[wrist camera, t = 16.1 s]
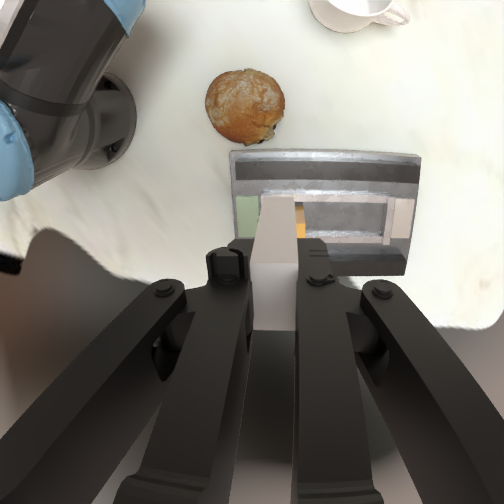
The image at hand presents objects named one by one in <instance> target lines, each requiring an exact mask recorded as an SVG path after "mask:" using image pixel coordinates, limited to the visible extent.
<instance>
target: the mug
mask: <svg viewBox="0 0 504 504" xmlns="http://www.w3.org/2000/svg"><path fill="white" fill-rule="evenodd" d="M309 3H310V8H311V11H312V13H313V15H314V16H315V18H316V19H317V20H318V21H319V22H320V23H321V24H322V25H324V26H325V27H327V28H329V29H331V30H334V31H337V32H342V33H351V32H357V31H359V30H362V29H363V28H365V27H366V26H368V25H369V24H370V23H372V22H375V23H379V24H384V25H392V26H400V25H405V24H407V23H409V21H410V17H409V14H408V13H407V11H406V10H405V9H404V8H403V7H402V6H401V5H400V4H399V3H398V2H397V1H396V0H309ZM386 11H388V12H391V13H393V14H396V15H398V16H400V17H401V18H403V19H404V20H405V21H404V22H399V21H396V20H393V19H391V18H389V17H387V16H386V15H384V14H383V13H385V12H386Z"/></svg>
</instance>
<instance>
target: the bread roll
mask: <svg viewBox="0 0 504 504" xmlns="http://www.w3.org/2000/svg"><path fill="white" fill-rule="evenodd" d="M244 70H245V71H242V70H239V71H238V70H237V71H229V72H225V73H223V74H221V75H219V76H218V77H216V78H215V79H214V81H213V82H212V83H211V84H210V86H209V88H208V90H207V94H206V98H205V107H206V111H207V114H208V117H209V119H210V121H211V123H212V125H213V127H214V128H215V129H216V130H217V131H218V132H219V133H220V134H221V135H223V136H224V137H225V138H227V139H228V140H230V141H233V142H237V143H244V145H245V146H248V145H250V144H253V143H258V144H259V143H262V142H263V141H264V140H266V141H267V140H269V139H270V138H273V136H274V134H275V133H274V132H273V130H274V129H275V128H276V123H277V122H278V121H280V120H281V118H282V117H283V110H284V109H285V99H284V95H283V92H282V91H281V89H280V87H279V85H278V83H277V82H276V81H275V80H274V79H273V78H272V77H270V76H269V75H267V74H265V73H262V72H260V71H256V70H254V69H250V68H248V69H244Z"/></svg>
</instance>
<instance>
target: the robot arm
mask: <svg viewBox="0 0 504 504" xmlns="http://www.w3.org/2000/svg"><path fill="white" fill-rule="evenodd" d="M145 5H146V0H0V201H7V200H10V199H12V198H14V197H16V196H19V195H24V194H26V193H28V192H29V191H30V190H32V189H33V188H35V187H37V186H39V185H41V184H42V183H44V182H46V181H48V180H50V179H52V178H54V177H56V176H58V175H60V174H61V173H63V172H65V171H68V170H70V169H82V170H93V169H98V168H101V167H104V166H106V165H108V164H110V163H112V162H114V161H115V160H117V159H118V158H119V157H120V156H121V155H122V154H123V153H124V152H125V150H126V149H127V148H128V146H129V144H130V142H131V140H132V138H133V135H134V131H135V127H136V107H135V103H134V100H133V97H132V95H131V93H130V91H129V89H128V88H127V86H126V85H125V84H124V83H123V82H122V81H121V80H120V79H118V78H117V77H115V76H113V75H111V74H108V73H105V71H106V69H107V68H108V66H109V64H110V63H111V61H112V59H113V58H114V56H115V54H116V53H117V51H118V50H119V48H120V46H121V45H122V43H123V42H124V40H125V39H126V37H129V36H130V34H131V29H132V27H133V26H134V24H135V22H136V21H137V19H138V18H139V16H140V15H141V13H142V12H143V10H144V8H145ZM206 263H207V270H208V278H209V279H208V281H207V284H206V285H205V286H202V287H198V288H193V289H187V290H185V288H184V284H183V283H182V282H181V281H179V280H176V279H162V280H159V281H156V282H154V283H152V284H151V285H149V286H148V287H147V288H146V289H145V290H144V291H143V292H142V293H141V294H140V295H138V296H137V298H135V299H134V300H133V301H132V302H131V303H130V304H129V305H128V306H127V307H126V308H125V309H124V310H123V311H122V312H121V313H120V314H119V315H118V316H117V317H116V318H115V319H114V320H113V321H112V322H111V323H110V324H109V325H108V326H107V327H106V328H105V329H104V330H103V331H102V332H101V333H100V334H99V335H98V336H97V337H96V338H95V339H94V340H93V341H92V342H91V343H90V344H89V345H88V346H87V347H86V348H85V349H84V350H83V351H82V352H81V353H80V354H79V355H78V356H77V357H76V358H75V359H74V360H73V361H72V362H71V363H70V364H69V365H68V366H67V367H66V369H64V371H63V372H62V373H61V374H60V375H59V376H58V377H57V378H56V379H55V380H54V381H53V382H52V383H51V384H50V385H49V386H48V387H47V388H46V390H45V391H44V392H43V393H42V394H41V395H40V396H39V397H38V398H37V399H36V400H35V401H34V402H33V404H32V405H31V406H30V407H29V408H28V409H27V410H26V411H25V412H24V413H23V415H22V416H21V417H20V418H19V419H18V420H17V421H16V422H15V423H14V424H13V426H12V427H11V428H10V429H9V430H8V431H7V433H6V434H5V435H4V436H3V437H2V438H1V439H0V504H91V503H92V502H93V500H94V499H95V497H96V496H97V495H98V493H99V492H100V490H101V489H102V487H103V486H104V484H105V483H106V482H107V480H108V479H109V478H110V476H111V475H112V473H113V472H114V470H115V469H116V467H117V466H118V464H119V463H120V462H121V460H122V459H123V457H124V456H125V455H126V453H127V452H128V450H129V449H130V447H131V446H132V444H133V443H134V442H135V440H136V439H137V437H138V436H139V434H140V433H141V431H142V430H143V429H144V427H145V426H146V424H147V423H148V421H149V420H150V418H151V417H152V416H153V414H154V413H155V411H156V410H157V408H158V407H159V405H160V404H161V402H162V401H163V402H162V405H161V408H160V410H159V413H158V416H157V419H156V422H155V425H154V428H153V431H152V434H151V436H150V439H149V442H148V445H147V448H146V451H145V454H144V457H143V460H142V463H141V466H140V468H139V470H138V472H137V473H136V474H134V475H130V476H127V477H126V478H125V479H124V480H123V481H122V482H121V484H120V487H119V488H118V491H117V493H116V496H115V499H114V502H113V504H228V503H229V496H230V490H231V484H232V477H233V471H234V464H235V458H236V451H237V444H238V438H239V431H240V424H241V418H242V411H243V404H244V397H245V391H246V384H247V377H248V370H249V363H250V356H251V349H252V341H253V335H252V326H253V328H254V330H295V349H294V356H295V394H294V400H295V401H294V435H293V463H292V464H293V465H292V484H291V503H290V504H384V501H383V498H382V496H381V493H380V492H378V491H377V490H376V489H375V488H374V485H373V480H372V472H371V463H370V454H369V446H368V438H367V430H366V423H365V416H364V409H363V402H362V396H361V390H360V384H359V378H358V372H357V367H358V369H359V371H360V373H361V375H362V377H363V379H364V381H365V383H366V385H367V387H368V389H369V391H370V393H371V395H372V397H373V399H374V401H375V403H376V405H377V407H378V409H379V411H380V413H381V415H382V417H383V419H384V421H385V423H386V425H387V427H388V429H389V431H390V433H391V436H392V438H393V439H394V442H395V444H396V446H397V448H398V450H399V452H400V454H401V457H402V459H403V461H404V463H405V465H406V467H407V469H408V472H409V474H410V476H411V478H412V480H413V482H414V484H415V487H416V489H417V491H418V493H419V496H420V498H421V500H422V503H423V504H504V420H503V418H502V417H501V415H500V414H499V412H498V411H497V410H496V408H495V407H494V405H493V404H492V402H491V401H490V400H489V398H488V397H487V396H486V394H485V393H484V391H483V390H482V389H481V387H480V386H479V384H478V383H477V382H476V380H475V379H474V378H473V376H472V375H471V374H470V372H469V371H468V370H467V368H466V367H465V366H464V364H463V363H462V362H461V361H460V359H459V358H458V357H457V355H456V354H455V353H454V351H453V350H452V349H451V348H450V346H449V345H448V344H447V343H446V341H445V340H444V339H443V338H442V337H441V335H440V334H439V333H438V332H437V330H436V329H435V328H434V327H433V325H432V324H431V323H430V322H429V321H428V319H427V318H426V317H425V316H424V315H423V313H422V312H421V311H420V310H419V309H418V308H417V306H416V305H415V304H414V303H413V302H412V301H411V299H410V298H409V297H408V296H407V295H406V294H405V293H404V291H403V290H402V289H401V288H400V287H399V286H397V285H396V284H395V283H392V282H390V281H387V280H381V279H379V280H371V281H368V282H366V283H365V284H364V285H363V288H362V290H358V289H353V288H349V287H346V286H344V285H341V284H340V283H339V279H338V278H337V276H336V275H335V274H334V273H333V272H332V267H331V263H330V259H329V254H328V250H327V246H326V243H325V242H324V241H322V240H321V239H320V238H297V231H296V215H295V201H294V197H264V198H263V202H262V207H261V212H260V217H259V221H258V226H257V231H256V235H255V239H234V240H233V241H232V242H231V243H229V244H228V246H227V247H221V248H217V249H214V250H212V251H210V252H209V253H208V254H207V255H206ZM156 340H157V341H156ZM155 341H156V342H155ZM154 342H155V343H154ZM356 365H357V367H356Z"/></svg>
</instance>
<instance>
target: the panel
mask: <svg viewBox="0 0 504 504" xmlns="http://www.w3.org/2000/svg"><path fill="white" fill-rule="evenodd" d="M229 155H230V169H231V184H232V198H233V211H234V225H235V238H236V239H255V235H256V231H257V226H258V221H259V217H260V212H261V207H262V202H263V198H264V197H294V201H295V202H303V210H304V217H305V238H320V239H321V240H322V241H324V242H325V243H326V246H327V250H328V254H329V259H330V263H331V267H332V272H333V273H334V274H335V275H336V276H404V274H405V269H406V264H407V259H408V254H409V248H410V243H411V237H412V231H413V225H414V218H415V211H416V204H417V196H418V187H419V178H420V168H421V157H419V156H418V155H414V154H402V153H389V152H374V151H355V150H327V149H261V150H232V151H231V152H230V153H229Z"/></svg>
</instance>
